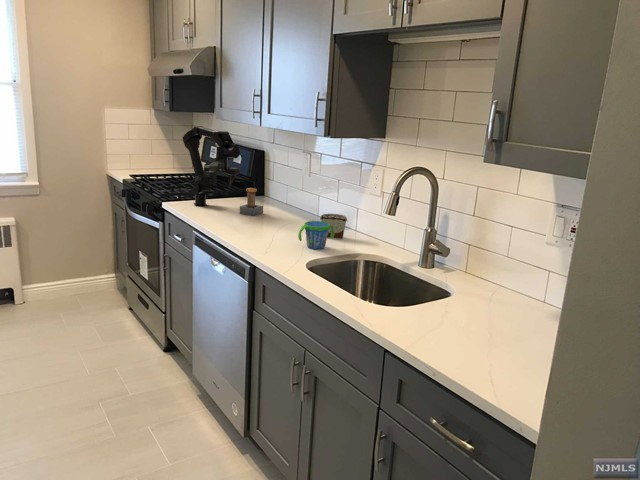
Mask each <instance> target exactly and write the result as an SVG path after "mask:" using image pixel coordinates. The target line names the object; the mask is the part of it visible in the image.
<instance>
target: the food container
mask: <svg viewBox="0 0 640 480" xmlns="http://www.w3.org/2000/svg"><path fill="white" fill-rule="evenodd" d="M319 221H322V222H326V223H329V224H330V225H331V226H332V227H333V228H334V238H333V239H335V238H336V239H337V240H343V239H344V235H345V228H346V222H348V218H347V216H346V215H343V214H338V213H324V214H322V215H321V216H320V218H319ZM327 239H331V227H330V228H329V230H328V235H327Z"/></svg>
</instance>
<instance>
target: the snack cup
mask: <svg viewBox="0 0 640 480" xmlns="http://www.w3.org/2000/svg"><path fill="white" fill-rule="evenodd" d="M330 227H331V238H330V239H335V238H334V228H333V227H332V226H331V225H330V224H329V223H326V222H322V221H321V220H310V221H306V222H304V225H302V226H301V227H300V228H299V232H298V240H299V241H300V242H302V233H303V231H304V230H305V241H306V246H307V248H309V249H312V250H323V249H325V248H326V243H327V239H328V238H327V235H328V230H329V228H330Z"/></svg>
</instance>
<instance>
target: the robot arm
mask: <svg viewBox="0 0 640 480" xmlns="http://www.w3.org/2000/svg"><path fill="white" fill-rule="evenodd" d="M203 136H204V137H207V138H210V139H212V140H213V141H214V142H215V144H213V147H216V155H215V156H216V157H214V160H213V162H211V163H210V164H206V165H204V167H203V163H202V159H201V154H200V150H199V148H200V145H201V142H200V141H201V139H203ZM182 142H183V144H184V147H185V148H186V149H187V150H188V152H189V157H190V160H191V163H192V168H193V171H194V175H195V178H194V181H193V185H194V186H193V187H192V188H191V189H190V192H191V193H190V194H191V195H194V198H195V199H194V202H193V205H194V206H195V207H208V204H207V195H210V192H211V189H212V185H213V186H216V184H217V174H218V172H224V173H227V174H226V176H227V187H228V188H231V186H232V184H233V181H234V179H235V178H236V176H238V175H239V174H241V169H240V168H238V167H230V166H229V162H228V161H230V158H231V159H238V158H239V157H240V154H241V151H240V149H239V147H238V145H237V144H235V143H234V141H233V138H232V137H231V134H230V132H229V131H226V130H215V129H212V128H207V127H204V126H202V125H196V126H193V128H192V129H190V130H188V131H187V132H186V133H185V134H184V135H183V136H182ZM205 173H207V174H208V175H209V176H207V175H206V174H205Z"/></svg>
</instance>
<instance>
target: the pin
mask: <svg viewBox="0 0 640 480" xmlns="http://www.w3.org/2000/svg"><path fill="white" fill-rule="evenodd" d="M245 191H246V192H247V199H246V201H247V202H246V204H247V207H252V208H254V207H255V205H256V192H258V191H257V188H255V187H254V188H253V187H249V188H248V187H247V188H246V190H245Z"/></svg>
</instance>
